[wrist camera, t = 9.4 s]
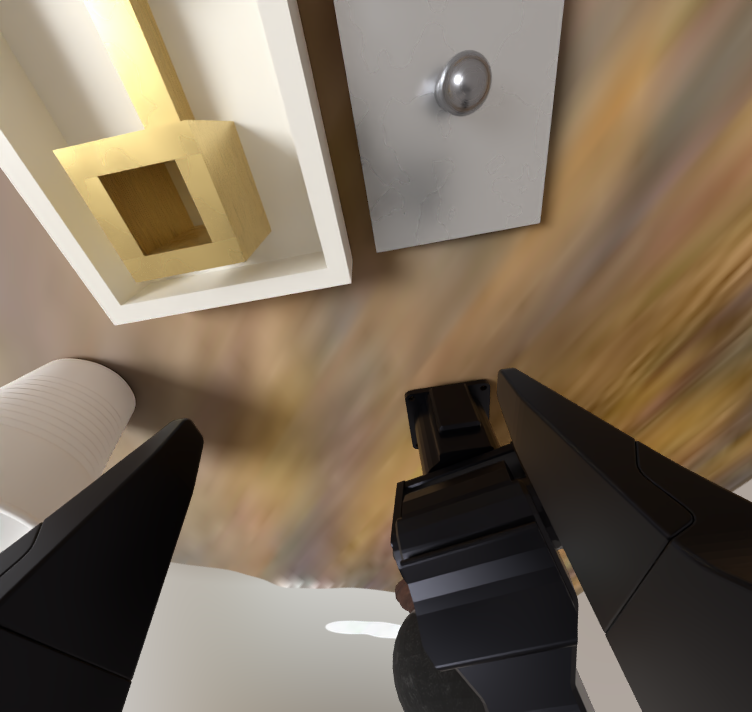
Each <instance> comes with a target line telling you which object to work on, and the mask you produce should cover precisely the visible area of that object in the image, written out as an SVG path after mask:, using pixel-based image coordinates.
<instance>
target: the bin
mask: <svg viewBox="0 0 752 712" xmlns="http://www.w3.org/2000/svg"><path fill="white" fill-rule="evenodd" d="M147 1H148V4H149V6H150V9H151V11H152V14H153V16H154V19H155V21H156V24H157V26H158V29H159V31H160V34H161V36H162V39H163V41H164V44H165V46H166V49H167V51H168V54H169V56H170V59H171V61H172V63H173V66H174V68H175V71H176V73H177V76H178V78H179V81H180V83H181V86H182V88H183V91H184V93H185V96H186V98H187V101H188V103H189V106H190V108H191V111H192V113H193V116H194V118H195V120H212V121H234V124H235V127H236V130H237V133H238V136H239V138H240V141H241V144H242V147H243V150H244V153H245V156H246V158H247V161H248V164H249V167H250V170H251V173H252V176H253V179H254V181H255V184H256V187H257V190H258V193H259V196H260V199H261V202H262V204H263V207H264V210H265V213H266V216H267V219H268V222H269V224H270V227H271V230H272V231H271V232H270V234H269V235H268V236H267V237H266V238H265V240H264V241H263V242H262V243H261V244H260V245H259V247H258V248H257V249H256V250H255V251H254V253H253V254H252V255H251V256H250V257H249V258H248V260H247V261H246V262H242V263H237V264H232V265H226V266H221V267H216V268H211V269H206V270H201V271H195V272H190V273H185V274H180V275H175V276H170V277H164V278H159V279H154V280H149V281H144V282H138V283H136V282H135V280H134V279H133V277H132V275H131V274H130V272H129V271H128V269H127V268H126V266H125V264H124V263H123V261H122V260H121V258H120V256H119V255H118V253H117V252H116V250H115V249H114V247H113V245H112V244H111V242H110V241H109V239H108V238H107V236H106V234H105V233H104V231H103V230H102V228H101V226H100V225H99V223H98V222H97V220H96V219H95V217H94V215H93V214H92V212H91V211H90V209H89V207H88V206H87V204H86V203H85V201H84V200H83V198H82V196H81V195H80V193H79V192H78V190H77V189H76V187H75V185H74V184H73V182H72V181H71V179H70V177H69V176H68V174H67V173H66V171H65V170H64V168H63V166H62V165H61V163H60V162H59V160H58V158H57V157H56V155H55V154H54V152H53V151H52V150H57V149H61V148H66V147H70V146H74V145H79V144H83V143H87V142H92V141H96V140H101V139H105V138H109V137H114V136H118V135H122V134H127V133H131V132H136V131H140V130H144V129H145V128H144V126H143V124H142V122H141V120H140V118H139V116H138V114H137V112H136V110H135V107H134V105H133V103H132V101H131V99H130V97H129V95H128V93H127V91H126V89H125V87H124V85H123V82H122V80H121V78H120V76H119V74H118V72H117V70H116V68H115V66H114V64H113V62H112V60H111V57H110V55H109V53H108V51H107V49H106V47H105V45H104V43H103V41H102V39H101V37H100V35H99V32H98V30H97V28H96V26H95V24H94V22H93V20H92V18H91V16H90V14H89V12H88V10H87V7H86V5H85V3H84V1H83V0H0V167H1V169H2V170H3V171H4V173H5V174H6V176H7V177H8V178H9V180H10V181H11V182H12V184H13V185H14V187H15V188H16V189H17V191H18V192H19V194H20V195H21V196H22V198H23V199H24V201H25V202H26V203H27V205H28V206H29V207H30V209H31V210H32V212H33V213H34V214H35V216H36V217H37V219H38V220H39V221H40V223H41V224H42V225H43V227H44V228H45V230H46V231H47V232H48V234H49V235H50V237H51V238H52V239H53V241H54V242H55V243H56V245H57V246H58V248H59V249H60V250H61V252H62V253H63V255H64V256H65V257H66V259H67V260H68V261H69V263H70V264H71V266H72V267H73V268H74V270H75V271H76V273H77V274H78V275H79V277H80V278H81V279H82V281H83V282H84V284H85V285H86V286H87V288H88V289H89V291H90V292H91V293H92V295H93V296H94V297H95V299H96V300H97V302H98V303H99V304H100V306H101V307H102V309H103V310H104V311H105V313H106V314H107V315H108V317H109V318H110V320H111V321H112V322H113V324H114V325H120V324H125V323H131V322H136V321H142V320H148V319H153V318H159V317H165V316H170V315H176V314H181V313H187V312H193V311H198V310H204V309H210V308H215V307H221V306H226V305H232V304H238V303H243V302H249V301H255V300H260V299H266V298H271V297H277V296H283V295H288V294H294V293H300V292H305V291H311V290H316V289H322V288H328V287H333V286H339V285H345V284H350V283H351V281H352V265H353V259H352V254H351V250H350V245H349V240H348V236H347V231H346V226H345V222H344V217H343V213H342V208H341V203H340V199H339V194H338V189H337V185H336V180H335V175H334V171H333V166H332V162H331V157H330V152H329V148H328V143H327V138H326V134H325V129H324V125H323V120H322V115H321V111H320V106H319V101H318V97H317V92H316V88H315V83H314V78H313V74H312V69H311V64H310V60H309V55H308V51H307V46H306V41H305V37H304V32H303V27H302V23H301V18H300V13H299V9H298V4H297V0H147ZM164 164H165V166H166V168H167V170H168V172H169V175H170V177H171V179H172V181H173V183H174V185H175V187H176V189H177V191H178V193H179V196H180V198H181V200H182V202H183V204H184V206H185V208H186V210H187V212H188V214H189V217H190V219H191V221H192V223H193V225H194V226H198V225H203V224H204V223H203V221H202V218H201V216H200V214H199V212H198V210H197V207H196V205H195V203H194V201H193V199H192V197H191V194H190V192H189V190H188V188H187V186H186V183H185V181H184V179H183V177H182V175H181V172H180V170H179V168H178V166H177V164H176V162H175V161H173V162H168V163H164Z"/></svg>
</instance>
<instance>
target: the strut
mask: <svg viewBox="0 0 752 712" xmlns="http://www.w3.org/2000/svg"><path fill="white" fill-rule="evenodd" d="M83 1H84V3H85V5H86V7H87V10H88V12H89V14H90V16H91V18H92V20H93V22H94V24H95V26H96V28H97V30H98V32H99V35H100V37H101V39H102V41H103V43H104V45H105V47H106V49H107V51H108V53H109V55H110V57H111V60H112V62H113V64H114V66H115V68H116V70H117V72H118V74H119V76H120V78H121V80H122V82H123V85H124V87H125V89H126V91H127V93H128V95H129V97H130V99H131V101H132V103H133V105H134V107H135V110H136V112H137V114H138V116H139V118H140V120H141V122H142V124H143V126H144V128H145V129H144V130H140V131H136V132H131V133H127V134H122V135H118V136H114V137H109V138H105V139H101V140H96V141H92V142H87V143H83V144H79V145H74V146H70V147H66V148H61V149H57V150H52V151H53V152H54V154H55V155H56V157H57V158H58V160H59V162H60V163H61V165H62V166H63V168H64V170H65V171H66V173H67V174H68V176H69V177H70V179H71V181H72V182H73V184H74V185H75V187H76V189H77V190H78V192H79V193H80V195H81V196H82V198H83V200H84V201H85V203H86V204H87V206H88V207H89V209H90V211H91V212H92V214H93V215H94V217H95V219H96V220H97V222H98V223H99V225H100V226H101V228H102V230H103V231H104V233H105V234H106V236H107V238H108V239H109V241H110V242H111V244H112V245H113V247H114V249H115V250H116V252H117V253H118V255H119V256H120V258H121V260H122V261H123V263H124V264H125V266H126V268H127V269H128V271H129V272H130V274H131V275H132V277H133V279H134V280H135V282H136V283H138V282H144V281H149V280H154V279H159V278H164V277H170V276H175V275H180V274H185V273H190V272H195V271H201V270H206V269H211V268H216V267H221V266H226V265H232V264H237V263H242V262H246V261H247V260H248V258H249V257H250V256H251V255H252V254H253V253H254V251H255V250H256V249H257V248H258V247H259V245H260V244H261V243H262V242H263V241H264V240H265V238H266V237H267V236H268V235H269V234H270V232H271V231H272V230H271V227H270V224H269V222H268V219H267V216H266V213H265V210H264V207H263V204H262V202H261V199H260V196H259V193H258V190H257V187H256V184H255V181H254V179H253V176H252V173H251V170H250V167H249V164H248V161H247V158H246V156H245V153H244V150H243V147H242V144H241V141H240V138H239V136H238V133H237V130H236V127H235V124H234V121H212V120H195V118H194V116H193V113H192V111H191V108H190V106H189V103H188V101H187V98H186V96H185V93H184V91H183V88H182V86H181V83H180V81H179V78H178V76H177V73H176V71H175V68H174V66H173V63H172V61H171V59H170V56H169V54H168V51H167V49H166V46H165V44H164V41H163V39H162V36H161V34H160V31H159V29H158V26H157V24H156V21H155V19H154V16H153V14H152V11H151V9H150V6H149V4H148V1H147V0H83ZM173 161H175V162H176V164H177V166H178V168H179V170H180V172H181V175H182V177H183V179H184V181H185V183H186V186H187V188H188V190H189V192H190V194H191V197H192V199H193V201H194V203H195V205H196V207H197V210H198V212H199V214H200V216H201V218H202V221H203V223H204V224H203V225H198V226H194V225H193V223H192V221H191V219H190V217H189V214H188V212H187V210H186V208H185V206H184V204H183V202H182V200H181V198H180V196H179V193H178V191H177V189H176V187H175V185H174V183H173V181H172V179H171V177H170V175H169V172H168V170H167V168H166V166H165V164H164V163H168V162H173Z"/></svg>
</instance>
